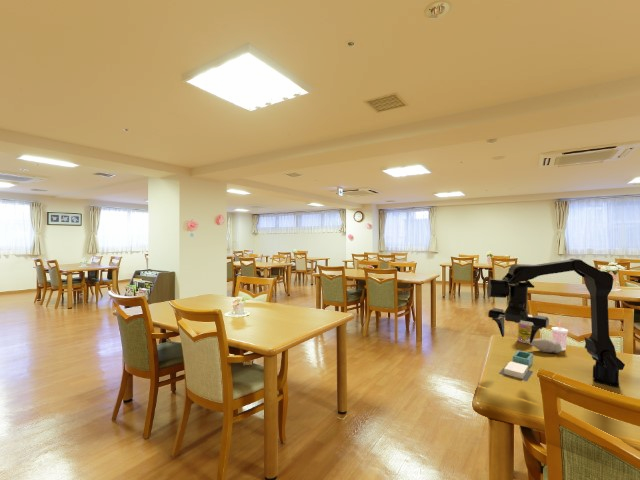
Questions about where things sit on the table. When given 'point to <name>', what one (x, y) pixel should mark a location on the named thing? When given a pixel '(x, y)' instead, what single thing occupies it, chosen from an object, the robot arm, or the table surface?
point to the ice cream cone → (545, 345)
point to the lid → (516, 369)
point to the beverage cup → (560, 335)
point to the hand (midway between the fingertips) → (516, 339)
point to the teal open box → (523, 358)
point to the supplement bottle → (524, 330)
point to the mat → (517, 377)
